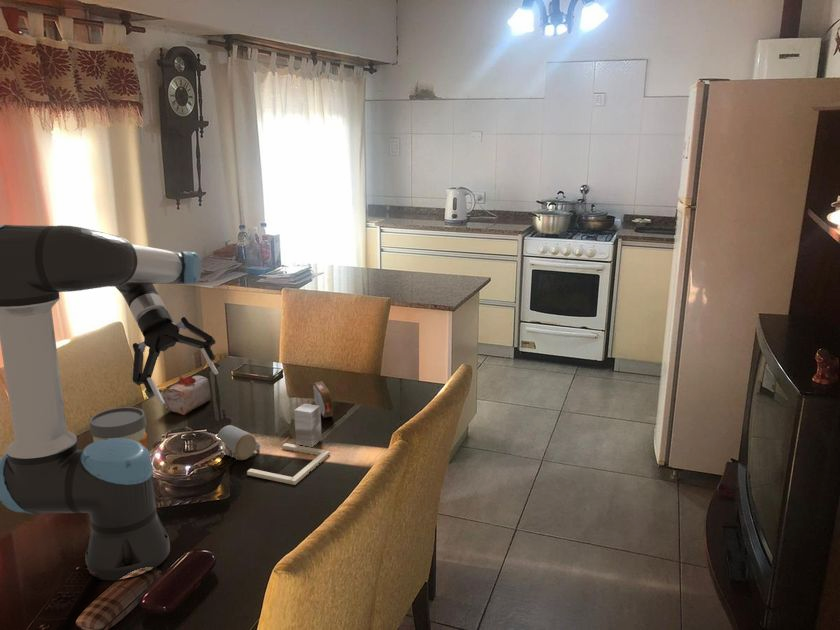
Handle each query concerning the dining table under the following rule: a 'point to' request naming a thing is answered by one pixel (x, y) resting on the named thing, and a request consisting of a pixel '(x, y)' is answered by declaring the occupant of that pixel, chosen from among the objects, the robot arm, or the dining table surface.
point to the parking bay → (299, 475)
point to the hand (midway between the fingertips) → (188, 387)
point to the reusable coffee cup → (119, 424)
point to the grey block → (307, 425)
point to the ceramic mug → (238, 441)
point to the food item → (187, 394)
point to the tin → (323, 399)
